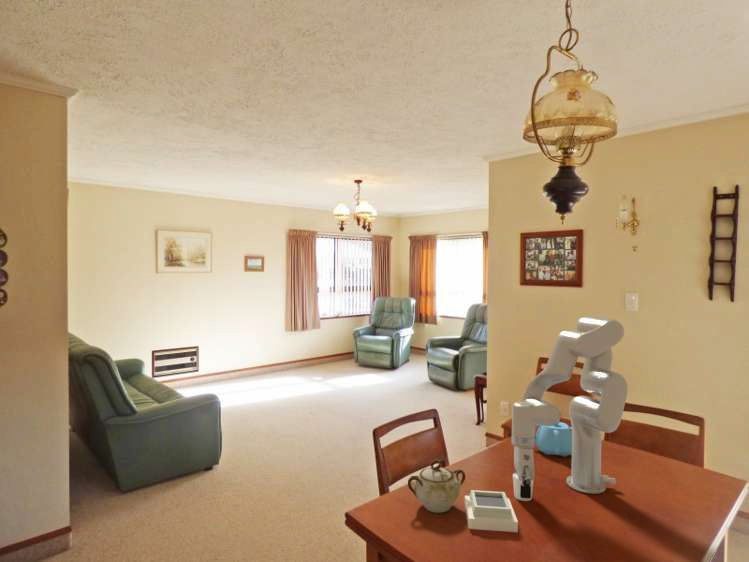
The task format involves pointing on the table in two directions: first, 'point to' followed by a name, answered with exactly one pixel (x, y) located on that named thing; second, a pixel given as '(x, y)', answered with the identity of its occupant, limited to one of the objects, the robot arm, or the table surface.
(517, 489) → the white short cylinder
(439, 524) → the table surface
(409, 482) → the sugar bowl
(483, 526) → the stand
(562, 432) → the decorative pot
